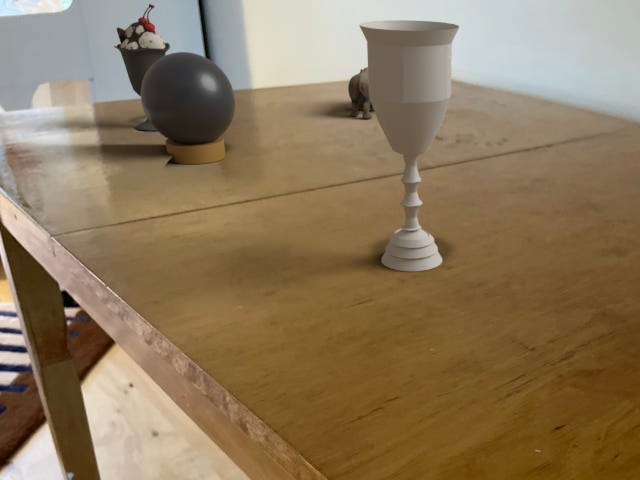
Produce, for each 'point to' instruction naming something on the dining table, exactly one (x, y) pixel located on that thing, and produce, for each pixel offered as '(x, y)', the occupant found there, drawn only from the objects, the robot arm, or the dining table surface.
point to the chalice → (410, 115)
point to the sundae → (140, 53)
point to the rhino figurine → (360, 94)
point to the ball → (189, 106)
